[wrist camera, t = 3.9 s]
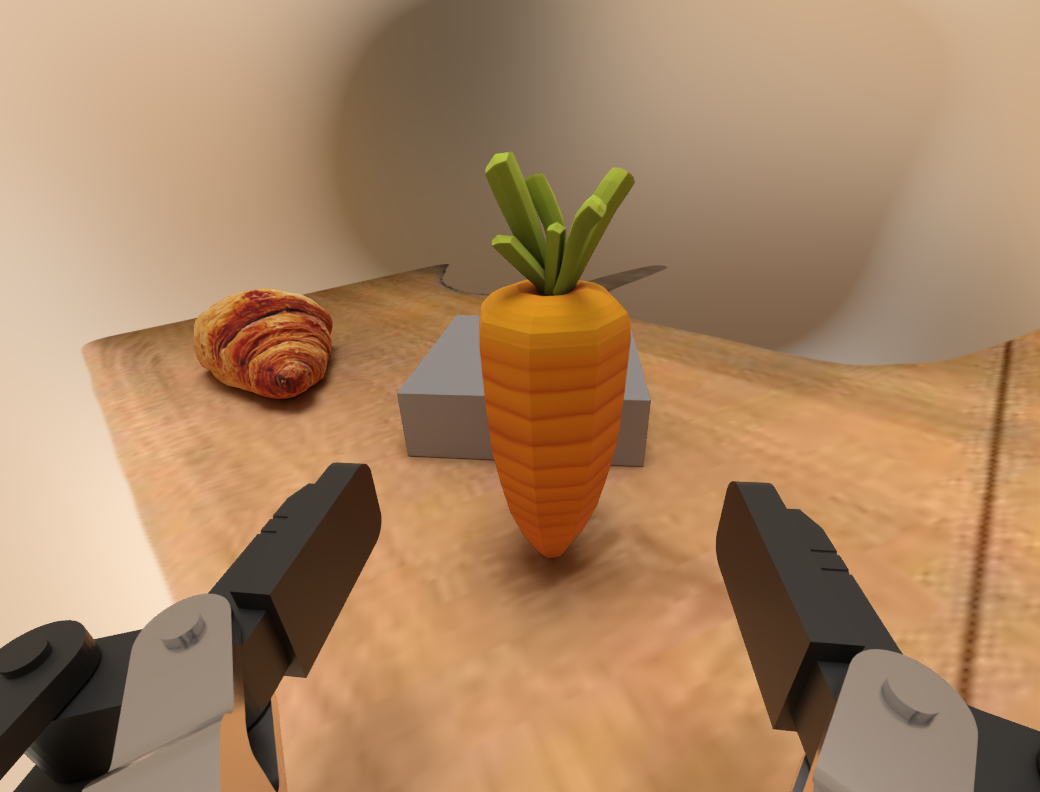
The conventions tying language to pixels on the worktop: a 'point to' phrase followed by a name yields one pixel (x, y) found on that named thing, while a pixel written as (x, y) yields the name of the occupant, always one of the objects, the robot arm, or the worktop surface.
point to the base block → (462, 410)
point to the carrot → (552, 357)
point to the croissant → (265, 342)
